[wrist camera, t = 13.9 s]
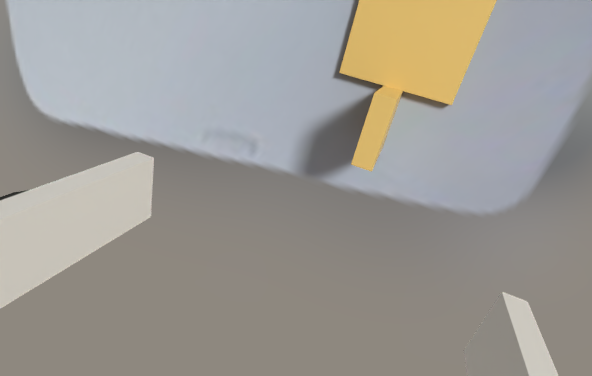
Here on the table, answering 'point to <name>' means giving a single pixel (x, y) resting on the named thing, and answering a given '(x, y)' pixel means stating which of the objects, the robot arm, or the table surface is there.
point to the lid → (409, 56)
